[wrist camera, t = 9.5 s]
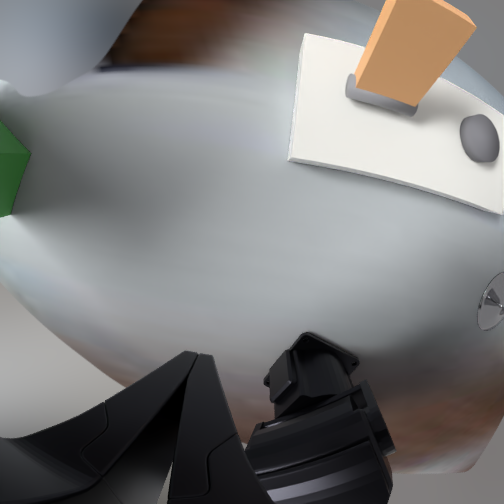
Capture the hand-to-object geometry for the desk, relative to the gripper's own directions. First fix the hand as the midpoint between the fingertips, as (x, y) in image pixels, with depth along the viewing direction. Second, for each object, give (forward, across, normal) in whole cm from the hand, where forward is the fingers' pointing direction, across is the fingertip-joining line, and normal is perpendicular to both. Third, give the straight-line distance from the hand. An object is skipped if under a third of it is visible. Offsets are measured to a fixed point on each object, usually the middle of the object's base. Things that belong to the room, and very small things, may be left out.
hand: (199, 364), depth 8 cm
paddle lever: (+9, -8, -12) cm, 17 cm away
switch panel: (+13, -12, -12) cm, 21 cm away
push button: (+10, -17, -12) cm, 23 cm away
